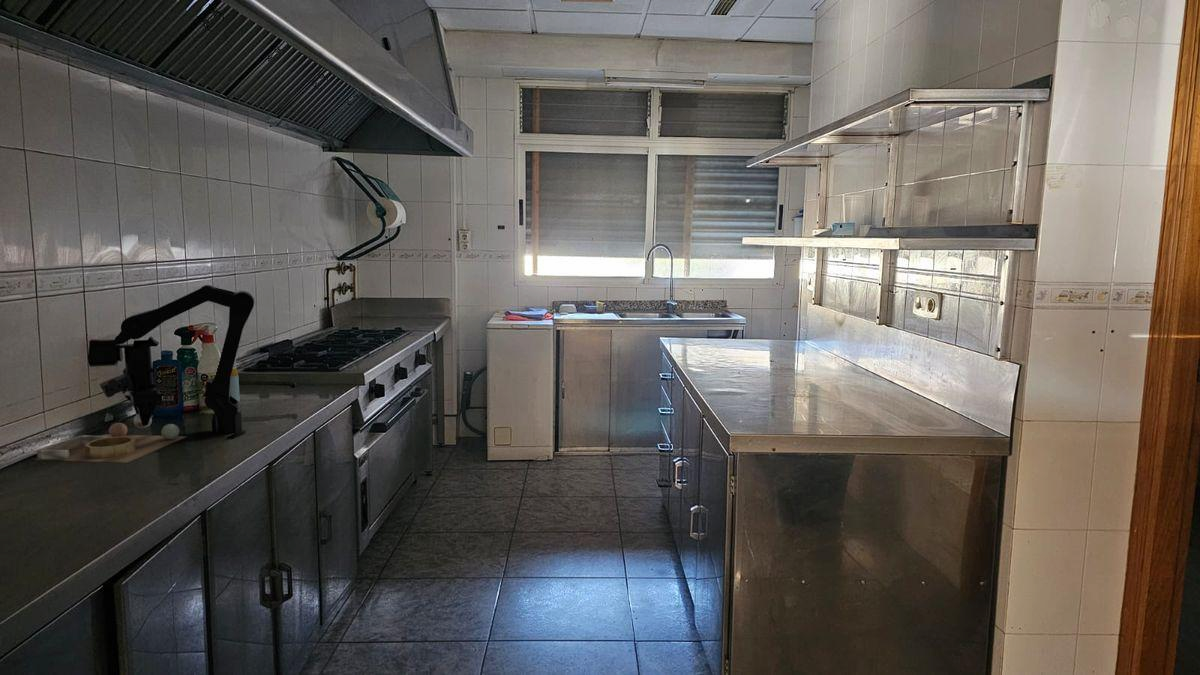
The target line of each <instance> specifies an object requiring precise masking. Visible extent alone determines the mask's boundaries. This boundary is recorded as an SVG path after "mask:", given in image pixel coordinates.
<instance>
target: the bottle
mask: <svg viewBox="0 0 1200 675" xmlns="http://www.w3.org/2000/svg"><path fill="white" fill-rule="evenodd" d="M236 358H237V357H236ZM236 358H235V361H234V365H233V369H232V373H231V387H230V395H231V396H232V397H233V398H235V399H236V400H237V401H239V404H240V403H241V402H240V401H241V399H240V383H239V381H240V380H239V371H238V370H237V359H236Z"/></svg>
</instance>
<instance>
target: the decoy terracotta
mask: <svg viewBox="0 0 1200 675" xmlns="http://www.w3.org/2000/svg"><path fill="white" fill-rule="evenodd" d="M108 433H109V434H110V435H111V436H112V437H118V436H125V435H128V434H127V433H128V426H127V425H126V424H124V423H123V422H115V423H113V424H112V425H110V427H109V430H108Z"/></svg>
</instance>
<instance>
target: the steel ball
mask: <svg viewBox="0 0 1200 675" xmlns="http://www.w3.org/2000/svg"><path fill="white" fill-rule="evenodd" d="M152 417H153V416H151V418H150V420H149V423H148V425H146V426H143V425H142V423H141V419H140V416H139V414H137V415H135V416H134V417H133V423H134V425H135V426H136V428H140V429H144V428H145V429H146V428H148V427H149V426H150V425H151V424H152V422H153V418H152Z"/></svg>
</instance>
